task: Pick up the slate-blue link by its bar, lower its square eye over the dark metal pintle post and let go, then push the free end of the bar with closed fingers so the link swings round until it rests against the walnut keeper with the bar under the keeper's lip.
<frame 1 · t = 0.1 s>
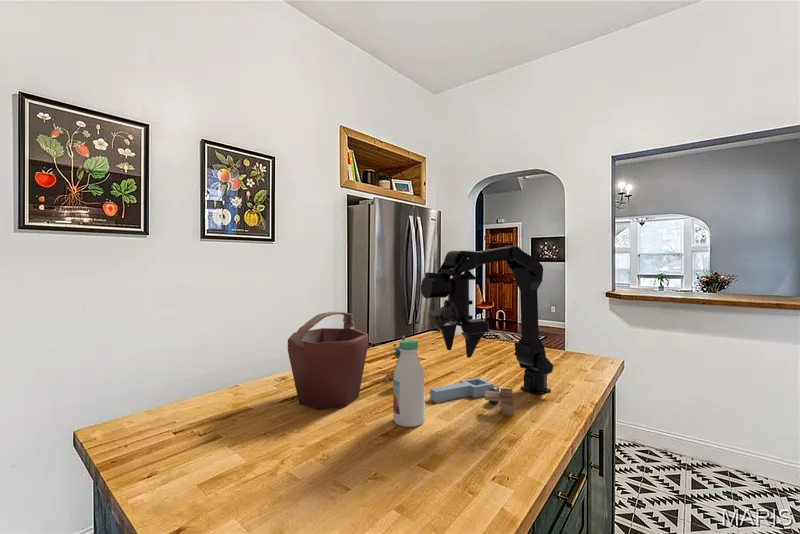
hand: (458, 353, 105), 14 cm above the worktop, fingers open, 9 cm apart
pintle: (493, 402, 108), on the worktop
frog figurine: (404, 375, 134), on the worktop
keeper: (506, 413, 100), on the worktop
bucket: (330, 399, 111), on the worktop
milk bottle: (408, 422, 95), on the worktop
link: (432, 400, 109), on the worktop
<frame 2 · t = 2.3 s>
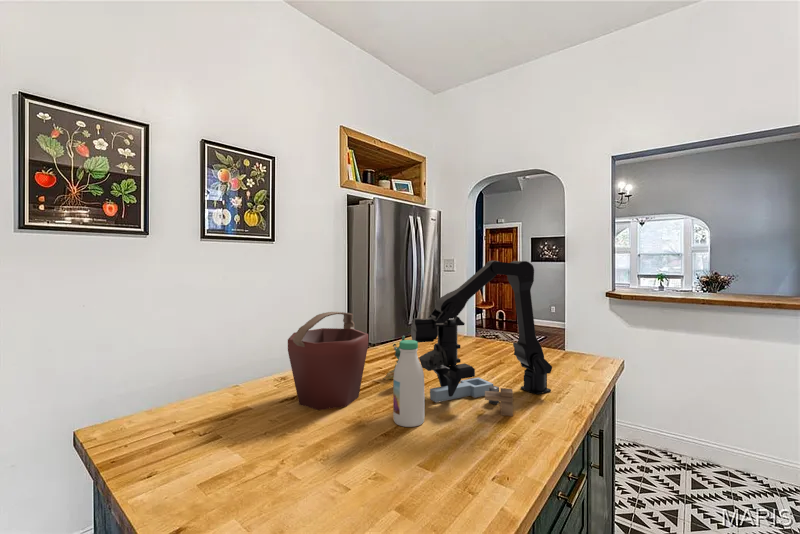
hand: (447, 394, 111), 1 cm above the worktop, fingers closed on link, 3 cm apart
link: (432, 400, 109), on the worktop, touching gripper
everything else where it was.
when the fingers open (3 cm above the worktop, at t = 5.5 s): link drops 2 cm, on the worktop.
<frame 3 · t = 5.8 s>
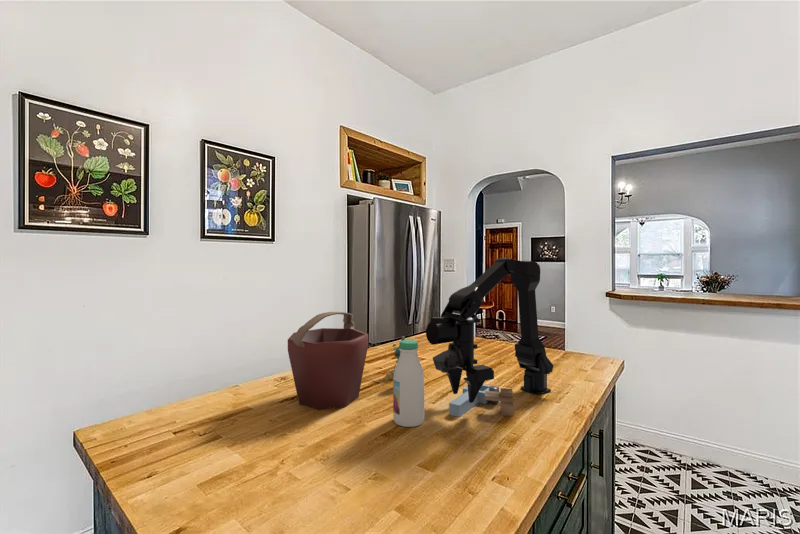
hand: (463, 398, 103), 3 cm above the worktop, fingers open, 7 cm apart
link: (454, 415, 99), on the worktop
everything else where it was.
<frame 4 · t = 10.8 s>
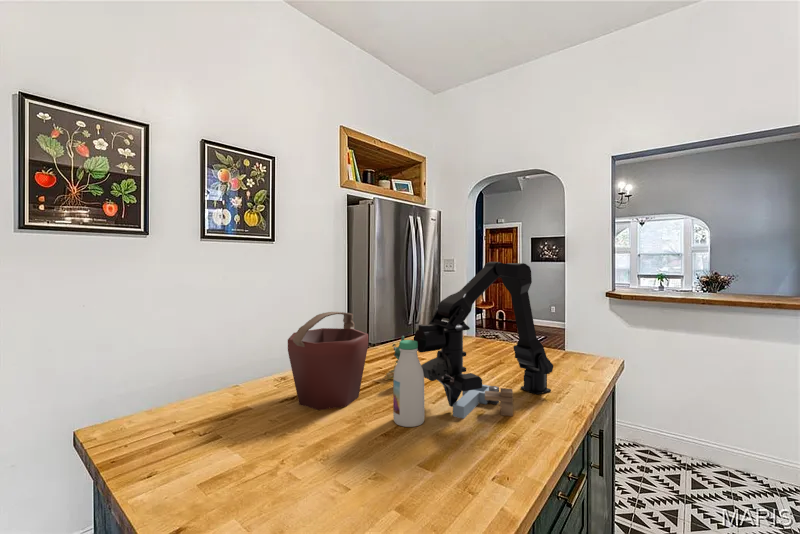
hand: (451, 406, 102), 1 cm above the worktop, fingers closed
link: (458, 417, 98), on the worktop, touching gripper, pintle
everything else where it was.
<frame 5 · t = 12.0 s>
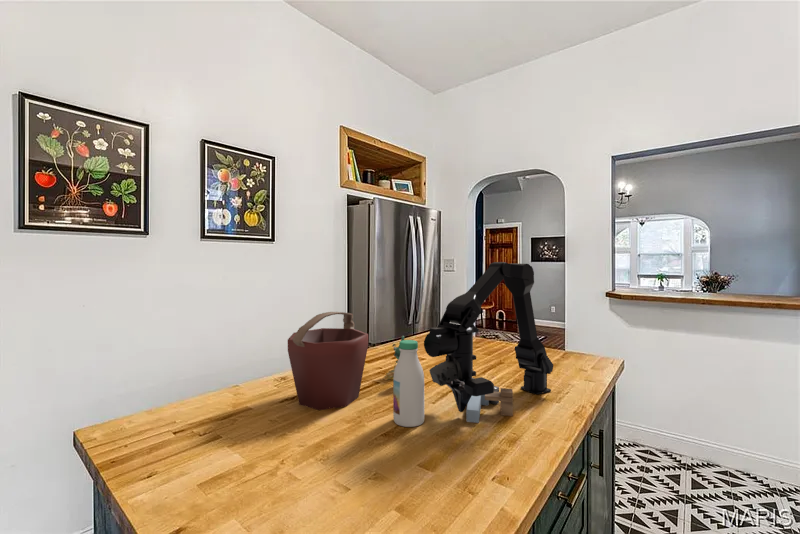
hand: (461, 411, 98), 1 cm above the worktop, fingers closed
link: (472, 422, 95), on the worktop, touching gripper
everything else where it was.
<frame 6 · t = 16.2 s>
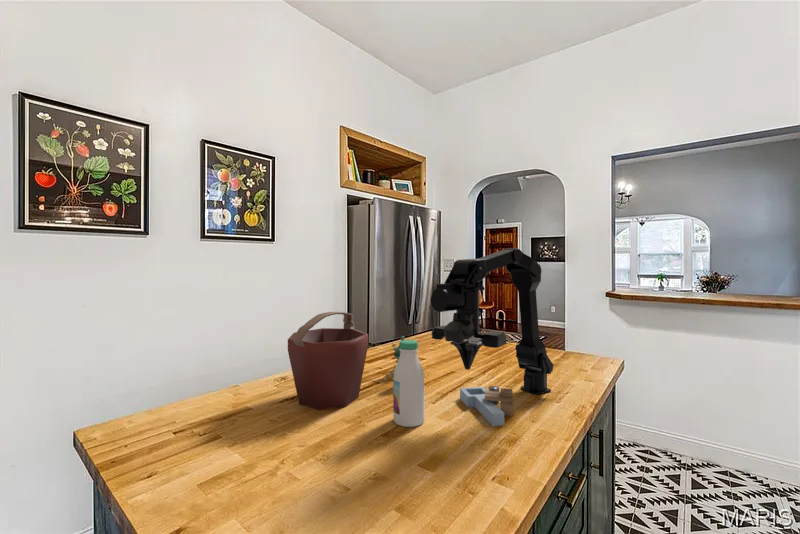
hand: (467, 369, 98), 12 cm above the worktop, fingers closed
link: (498, 425, 93), on the worktop
everything else where it was.
at the end: link 1.4 cm from the target spot, on the worktop; link on the worktop; the gripper is holding nothing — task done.
